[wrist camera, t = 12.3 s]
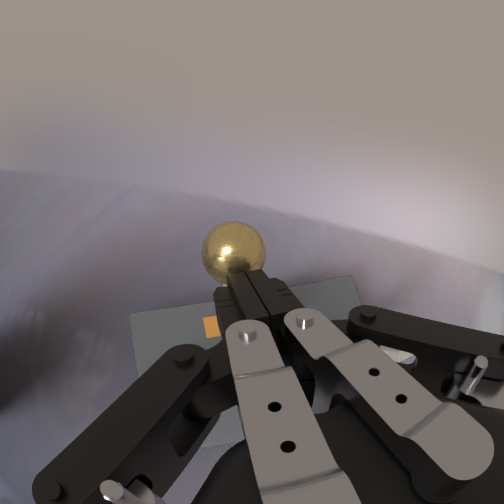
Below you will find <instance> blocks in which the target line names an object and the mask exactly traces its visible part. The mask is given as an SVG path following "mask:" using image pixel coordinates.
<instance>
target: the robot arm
mask: <svg viewBox="0 0 504 504" xmlns="http://www.w3.org/2000/svg"><path fill="white" fill-rule="evenodd" d="M226 280H227V286H224V287H218V288H216V290H215V292H214V294H213V296H214V303H215V310H216V316H217V323H218V327H219V331H220V334H221V338H222V340H221V341H220V342H219V343H218V344H217V345H215V346H213V347H211V348H209V349H207V350H205V349H203V348H202V347H200V346H198V345H195V344H181V345H177V346H174V347H172V348H170V349H169V350H167V351H166V352H165V353H164V354H163V355H162V356H161V357H160V358H159V359H158V360H157V361H156V362H155V363H154V364H153V365H152V366H151V367H150V368H149V369H148V370H147V371H146V372H145V373H144V374H142V375H141V376H140V377H139V378H138V379H137V380H136V381H135V382H134V383H133V384H132V385H131V386H130V387H129V388H128V389H127V390H126V391H125V392H124V393H123V394H122V395H121V396H120V397H119V398H118V399H117V400H116V401H115V402H114V403H112V404H111V405H110V406H109V407H108V408H107V409H106V410H105V411H104V412H103V413H102V414H101V415H100V416H99V417H98V418H97V419H96V420H95V421H94V422H93V423H92V424H91V425H89V426H88V427H87V428H86V429H85V430H84V431H83V432H82V433H81V434H80V435H79V436H78V437H77V438H76V439H75V440H74V441H73V442H72V443H71V444H69V445H68V446H67V447H66V448H65V449H64V450H63V451H62V452H61V453H60V454H59V455H58V456H57V457H56V458H55V459H53V460H52V461H51V462H50V463H49V464H48V465H47V466H46V467H45V468H44V469H43V470H42V471H41V472H39V473H38V475H37V476H36V477H35V479H34V481H33V485H32V494H33V498H34V500H35V502H36V504H166V503H165V502H164V501H163V500H162V499H161V498H162V497H163V496H164V495H165V493H166V492H167V491H168V490H169V488H170V487H171V486H172V484H173V483H174V482H175V480H176V479H177V478H178V476H179V475H180V474H181V472H182V471H183V470H184V468H185V467H186V466H187V464H188V463H189V462H190V460H191V459H192V457H193V456H194V455H195V453H196V452H197V450H198V449H199V448H200V446H201V445H202V443H203V442H204V441H205V439H206V438H207V436H208V435H209V433H210V432H211V430H212V429H213V427H214V426H215V425H216V423H217V422H218V420H219V418H220V415H221V412H223V411H225V410H227V409H229V408H231V407H233V406H235V405H237V408H238V413H239V418H240V423H241V428H242V432H243V437H244V440H242V441H240V442H239V443H237V444H235V445H234V446H233V447H231V448H230V449H229V450H228V451H227V452H226V453H225V454H224V455H222V457H221V458H220V459H219V460H218V461H217V463H216V464H215V466H214V467H213V469H212V471H211V472H210V474H209V476H208V477H207V479H206V480H205V482H204V484H203V485H202V487H201V488H200V490H199V492H198V493H197V495H196V496H195V498H194V499H193V501H192V503H191V504H504V336H503V335H498V334H493V333H488V332H483V331H479V330H474V329H469V328H465V327H460V326H456V325H451V324H447V323H442V322H438V321H433V320H429V319H425V318H420V317H416V316H412V315H408V314H403V313H399V312H395V311H391V310H387V309H383V308H378V307H374V306H369V305H362V306H357V307H354V308H353V309H351V310H350V312H349V316H348V319H345V320H329V319H328V318H326V317H325V316H324V315H323V314H322V313H321V312H319V311H317V310H314V309H310V308H305V307H304V306H303V304H302V303H301V302H300V301H299V300H298V298H297V297H296V296H295V295H294V294H293V292H292V291H291V290H290V289H289V288H288V286H287V285H286V284H285V283H284V282H283V281H281V280H279V279H277V278H270V279H269V278H268V277H267V276H266V274H265V273H264V272H263V270H262V269H257V270H251V271H245V272H239V273H233V274H227V275H226ZM381 345H382V346H385V347H389V348H393V349H397V350H400V351H404V352H408V353H412V354H414V355H415V356H416V359H415V361H414V362H413V363H411V364H402V363H399V362H395V361H394V360H393V359H392V358H391V357H389V356H388V355H387V354H386V353H385V352H384V351H383V350H381V349H380V346H381Z"/></svg>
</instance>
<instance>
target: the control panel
mask: <svg viewBox="0 0 504 504" xmlns="http://www.w3.org/2000/svg"><path fill="white" fill-rule="evenodd" d="M289 289H290V290H291V291H292V292H293V294H294V295H295V296H296V297H297V298H298V300H299V301H300V302H301V303H302V304H303V306H304V307H305V308H310V309H314V310H317V311H319V312H321V313H322V314H323V315H324V316H325V317H326V318H328V319H329V320H345V319H348V316H349V312H350V310H351V309H353V308H354V307H357V306H362V305H361V302H360V299H359V296H358V292H357V289H356V286H355V283H354V280H353V277H352V275H347V276H342V277H338V278H333V279H329V280H324V281H319V282H314V283H309V284H304V285H299V286H294V287H289ZM129 316H130V325H131V333H132V341H133V348H134V355H135V361H136V367H137V373H138V378H139V377H140V376H141V375H142V374H144V373H145V372H146V371H147V370H148V369H149V368H150V367H151V366H152V365H153V364H154V363H155V362H156V361H157V360H158V359H159V358H160V357H161V356H162V355H163V354H164V353H165V352H166V351H167V350H169V349H170V348H172V347H174V346H177V345H181V344H195V345H198V346H200V347H202V348H203V349H205V350H207V349H209V348H211V347H213V346H215V345H217V344H218V343H219V342H220V341H221V340H222V338H221V334H220V331H219V327H218V323H217V316H216V310H215V303H214V301H211V302H205V303H198V304H192V305H185V306H179V307H172V308H165V309H158V310H150V311H143V312H135V313H129ZM242 440H244V437H243V432H242V428H241V423H240V418H239V413H238V408H237V405H235V406H233V407H231V408H229V409H227V410H225V411H223V412H221V415H220V418H219V420H218V422H217V423H216V425H215V426H214V427H213V429H212V430H211V432H210V433H209V435H208V436H207V438H206V439H205V441H204V442H203V443H202V445H201V446H200V448H204V447H211V446H217V445H223V444H228V443H233V442H238V441H242Z"/></svg>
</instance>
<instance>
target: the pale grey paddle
mask: <svg viewBox="0 0 504 504" xmlns="http://www.w3.org/2000/svg"><path fill="white" fill-rule="evenodd" d="M380 349H381V350H383V351H384V352H385V353H386V354H387V355H388V356H389V357H391V358H392V359H393V360H394V361H395V362H401V361H403V360H405V359H407V358H409V357H411V356H413V355H414V354H412V353H408V352H404V351H400V350H397V349H393V348H389V347H385V346H382V345H381V346H380Z"/></svg>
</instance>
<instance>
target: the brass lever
mask: <svg viewBox="0 0 504 504" xmlns="http://www.w3.org/2000/svg"><path fill="white" fill-rule="evenodd" d="M201 254H202V262H203V265H204V267H205V269H206V271H207V272H208V274H209V275H210V276H211V277H212V278H213V279H215V280H216V281H218V282H220V283H222V287H224V286H227V280H226V275H227V274H233V273H239V272H245V271H251V270H257V269H262V268H263V266H264V263H265V258H266V249H265V244H264V241H263V239H262V237H261V236H260V234H259V233H258V232H257V231H256V230H255V229H254V228H253V227H251V226H250V225H248V224H246V223H243V222H238V221H229V222H225V223H222V224H219V225H218V226H216V227H215V228H213V229H212V230H211V231H210V232H209V233H208V235H207V236H206V238H205V240H204V242H203V245H202V252H201Z"/></svg>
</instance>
